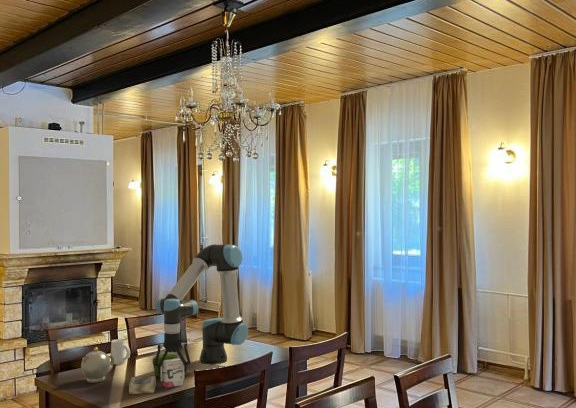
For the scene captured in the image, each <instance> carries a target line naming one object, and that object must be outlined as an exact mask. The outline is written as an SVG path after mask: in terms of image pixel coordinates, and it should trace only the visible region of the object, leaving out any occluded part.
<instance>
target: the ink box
mask: <svg viewBox="0 0 576 408" xmlns="http://www.w3.org/2000/svg"><path fill="white" fill-rule="evenodd" d="M183 365H184V364H183V362H182V360H181V359H180V357H177V359H170V360H164V361H163V363H162V387H164V388H165V389H168V388H175V387H180V386H183V384H184V383H183V381H184V380H183Z"/></svg>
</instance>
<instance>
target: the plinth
mask: <svg viewBox="0 0 576 408" xmlns="http://www.w3.org/2000/svg"><path fill="white" fill-rule="evenodd" d="M156 376H157V375H149V376H148V375H146V376H134V377H133V376H132V377H131V379H130V381H129V384H128V394H129V395H136V394H137V395H139V394H154V393H155V390H156V385H157V381H156V380H157V379H156Z"/></svg>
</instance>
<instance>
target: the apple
mask: <svg viewBox="0 0 576 408" xmlns="http://www.w3.org/2000/svg"><path fill="white" fill-rule="evenodd" d="M163 354H164V353H160V354H159V358H158V362H157V363H159V362H160V360H161V358H162V356H163ZM177 358H178V356H177V355H176V354H174V353H167V355H166V357H165V359H164V360H170V359H177ZM155 359H156V355H155V356H154V357H153V358H152V365H153V371H154V374H155V375H154V376H157V377H159V378H161V374H158V367H157V366H154V363H155ZM161 366H162V365H161Z"/></svg>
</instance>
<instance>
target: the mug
mask: <svg viewBox="0 0 576 408" xmlns="http://www.w3.org/2000/svg"><path fill="white" fill-rule="evenodd" d="M110 350H111V351H110V354H111V355H112V356H113V358H114V365H122V364H126V363H127V360H128V359H129V358H130V356H131V349H130V347H129V346H128V345H127V339H124V338H118V339H112V340H111V346H110Z"/></svg>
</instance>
